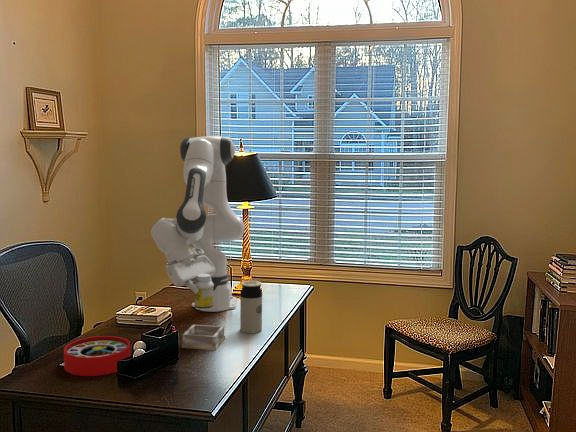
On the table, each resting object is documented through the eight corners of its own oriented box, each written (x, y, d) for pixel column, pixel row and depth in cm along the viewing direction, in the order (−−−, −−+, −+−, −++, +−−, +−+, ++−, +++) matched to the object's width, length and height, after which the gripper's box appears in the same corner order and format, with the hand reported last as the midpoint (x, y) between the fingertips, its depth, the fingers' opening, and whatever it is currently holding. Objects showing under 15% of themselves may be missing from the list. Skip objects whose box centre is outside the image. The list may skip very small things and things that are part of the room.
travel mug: (235, 330, 223) (236, 282, 221) (251, 325, 229) (251, 279, 226) (250, 335, 218) (251, 286, 215) (266, 330, 223) (266, 283, 221)
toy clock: (96, 332, 201) (143, 342, 192) (97, 349, 202) (144, 359, 193) (49, 350, 183) (98, 362, 175) (49, 369, 184) (98, 381, 175)
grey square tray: (192, 336, 215) (192, 324, 215) (225, 338, 213) (225, 326, 213) (181, 347, 204) (181, 334, 203) (215, 350, 202) (215, 337, 201)
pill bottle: (195, 305, 210) (194, 273, 208) (213, 305, 210) (213, 272, 209) (193, 310, 203) (193, 277, 202) (212, 310, 204) (212, 277, 202)
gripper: (167, 258, 199) (191, 290, 195) (205, 248, 216) (227, 278, 213) (157, 269, 201) (180, 302, 198) (195, 259, 219) (217, 288, 216)
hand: (205, 289), depth 206 cm, fingers closed on pill bottle, 6 cm apart
